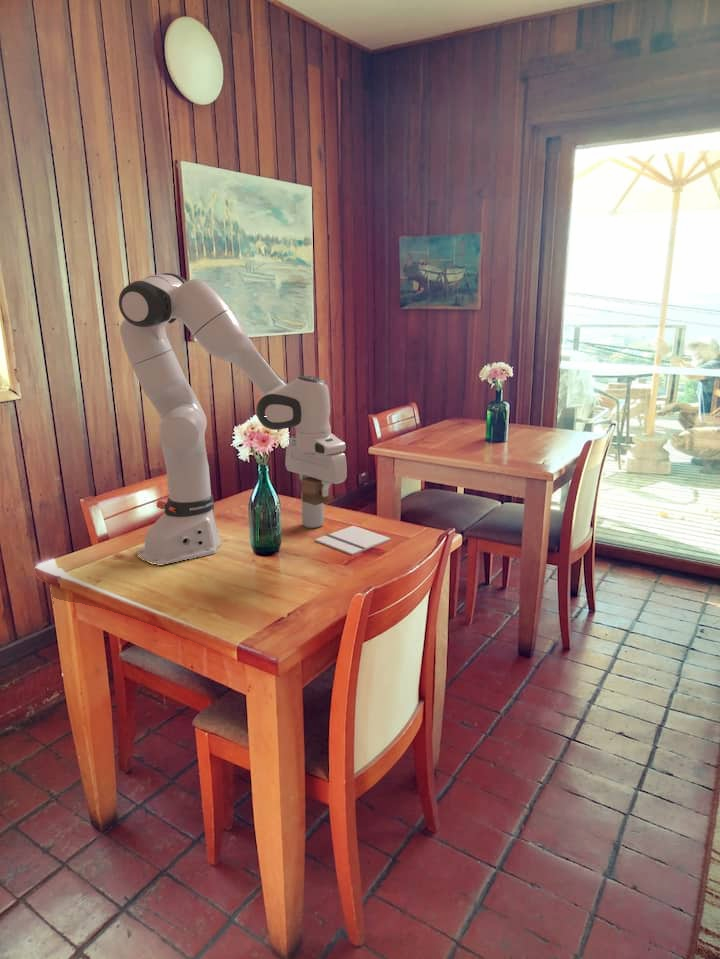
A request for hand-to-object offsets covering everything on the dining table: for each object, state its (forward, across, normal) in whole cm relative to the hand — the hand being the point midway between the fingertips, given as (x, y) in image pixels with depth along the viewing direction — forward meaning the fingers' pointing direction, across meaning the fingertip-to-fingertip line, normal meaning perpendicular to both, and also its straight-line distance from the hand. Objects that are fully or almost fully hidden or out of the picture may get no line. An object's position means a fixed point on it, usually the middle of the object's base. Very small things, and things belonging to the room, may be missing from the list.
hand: (315, 493), depth 170 cm
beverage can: (+17, -18, +14) cm, 29 cm away
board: (+17, 0, +14) cm, 22 cm away
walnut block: (+2, 0, 0) cm, 2 cm away
